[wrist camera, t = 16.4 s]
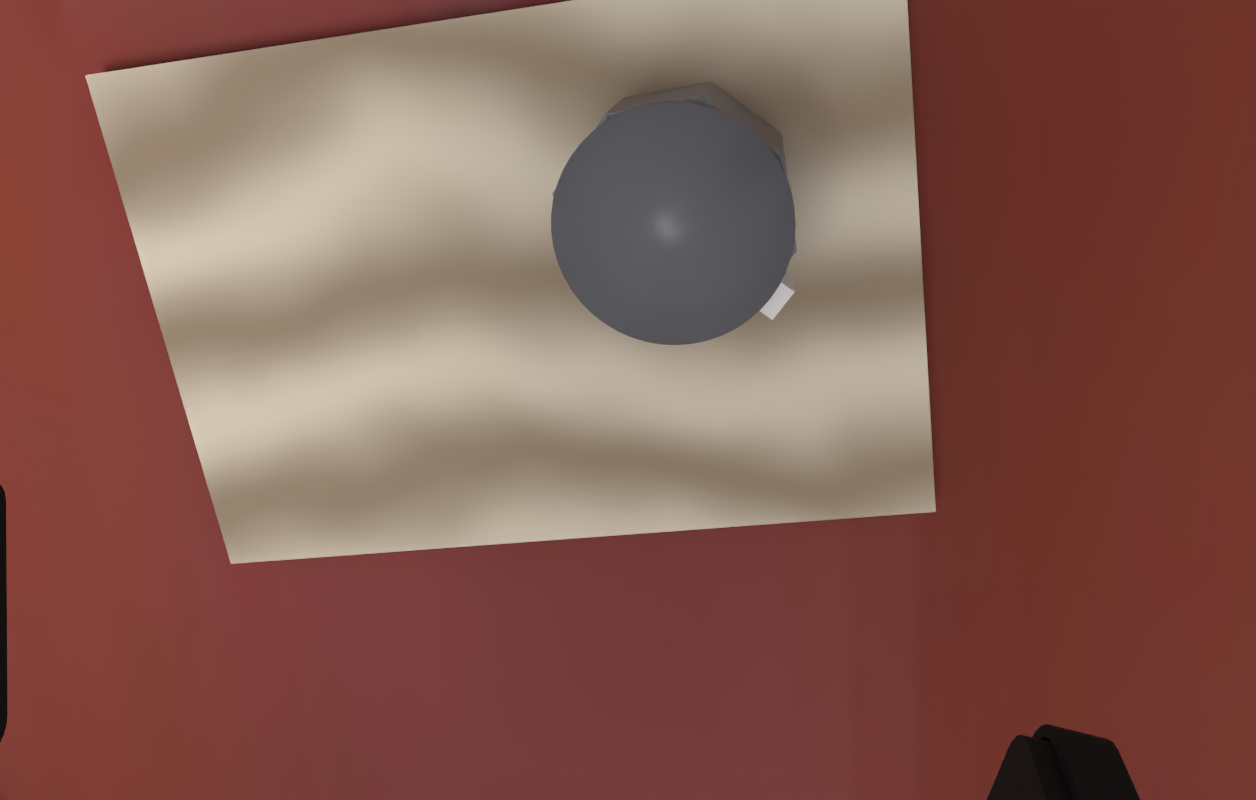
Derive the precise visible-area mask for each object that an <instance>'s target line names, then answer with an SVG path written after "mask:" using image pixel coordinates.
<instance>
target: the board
mask: <svg viewBox="0 0 1256 800" xmlns="http://www.w3.org/2000/svg"><path fill="white" fill-rule="evenodd" d="M85 77H86V80H87V83H88V87H89V90H90V93H91V97H92V100H93V103H94V107H95V110H96V113H97V117H98V120H99V123H100V127H101V130H102V134H103V137H104V140H105V144H106V147H107V150H108V154H109V157H110V160H111V164H112V167H113V170H114V174H115V177H116V180H117V184H118V187H119V190H120V194H121V197H122V200H123V204H124V207H125V211H126V214H127V217H128V221H129V224H130V227H131V231H132V234H133V237H134V241H135V244H136V247H137V251H138V254H139V257H140V261H141V264H142V267H143V271H144V274H145V278H146V281H147V284H148V288H149V291H150V294H151V298H152V301H153V304H154V308H155V311H156V314H157V318H158V321H159V324H160V328H161V331H162V334H163V338H164V341H165V345H166V348H167V351H168V355H169V358H170V361H171V365H172V368H173V371H174V375H175V378H176V381H177V385H178V388H179V391H180V395H181V398H182V401H183V405H184V408H185V412H186V415H187V418H188V422H189V425H190V428H191V432H192V435H193V438H194V442H195V445H196V448H197V452H198V455H199V458H200V462H201V465H202V468H203V472H204V475H205V478H206V482H207V485H208V489H209V492H210V495H211V499H212V502H213V505H214V509H215V512H216V515H217V519H218V522H219V525H220V529H221V532H222V535H223V539H224V542H225V545H226V549H227V552H228V556H229V559H230V562H231V564H235V563H249V562H262V561H276V560H289V559H303V558H317V557H330V556H344V555H357V554H371V553H384V552H398V551H411V550H425V549H439V548H452V547H466V546H479V545H493V544H506V543H520V542H534V541H547V540H561V539H574V538H588V537H601V536H615V535H628V534H642V533H656V532H669V531H683V530H696V529H710V528H723V527H737V526H750V525H764V524H778V523H791V522H805V521H818V520H832V519H845V518H859V517H872V516H886V515H900V514H913V513H927V512H936V507H935V489H934V471H933V453H932V435H931V417H930V399H929V381H928V363H927V345H926V327H925V309H924V291H923V273H922V255H921V237H920V219H919V201H918V183H917V165H916V147H915V129H914V112H913V94H912V76H911V58H910V40H909V22H908V4H907V0H572V1H565V2H559V3H552V4H546V5H539V6H533V7H526V8H520V9H513V10H507V11H500V12H494V13H487V14H481V15H474V16H468V17H461V18H455V19H448V20H442V21H435V22H429V23H422V24H416V25H409V26H403V27H396V28H390V29H383V30H377V31H370V32H364V33H357V34H351V35H344V36H338V37H331V38H325V39H318V40H311V41H305V42H298V43H292V44H285V45H279V46H272V47H266V48H259V49H253V50H246V51H240V52H233V53H227V54H220V55H214V56H207V57H201V58H194V59H188V60H181V61H175V62H168V63H162V64H155V65H149V66H142V67H136V68H129V69H123V70H116V71H110V72H103V73H97V74H90V75H85ZM708 82H711V83H712V84H714V85H715V86H717V87H718V88H719V89H721V90H722V91H723V92H725V93H726V94H727V95H729V96H730V97H732V98H733V99H734V100H736V101H737V102H738V103H740V104H741V105H742V106H744V107H745V108H747V109H748V110H749V111H751V112H752V113H753V114H755V115H756V116H757V117H759V118H760V119H762V120H763V121H764V122H766V123H767V124H768V125H770V126H771V127H772V128H774V129H775V130H777V131H778V132H779V133H781V134H782V137H783V144H784V152H785V159H786V167H787V174H788V181H789V184H790V187H791V191H792V196H793V201H794V209H795V223H796V227H795V237H796V248H797V251H796V253H795V254H794V255H793V257H792V258H791V259H790V262H789V265H788V268H787V271H786V272H787V273H788V274H790V275H791V276H793V277H794V289H795V292H794V294H793V295H792V296H791V297H790V299H789V300H788V301H787V302H786V304H785V305H784V306H783V307H782V309H781V310H780V311H779V313H778V314H777V315H776V316H775V318H774V319H773V320H771V319H770V318H769V317H767V316H766V315H764V314H763V313H761V312H760V311H759V312H758V313H756V314H755V315H754V316H753V317H752V318H751V319H749V320H748V321H747V322H745V323H744V324H742V325H741V326H739V327H738V328H736V329H735V330H732V331H730V332H728V333H726V334H724V335H722V336H720V337H717V338H714V339H711V340H708V341H704V342H699V343H694V344H686V345H662V344H655V343H650V342H645V341H641V340H638V339H635V338H632V337H629V336H627V335H625V334H622V333H620V332H618V331H616V330H614V329H613V328H611V327H609V326H608V325H606V324H605V323H603V322H602V321H601V320H599V319H598V318H597V317H596V316H594V315H593V314H592V313H591V312H590V311H589V310H588V309H587V308H586V307H585V306H584V305H583V304H582V303H581V302H580V301H579V299H578V298H577V297H576V295H575V294H574V293H573V292H572V290H571V289H570V287H569V285H568V283H567V282H566V280H565V278H564V276H563V274H562V272H561V269H560V267H559V265H558V262H557V259H556V255H555V251H554V248H553V241H552V234H551V211H552V203H553V195H552V193H553V192H554V190H555V189H556V186H557V183H558V181H559V178H560V176H561V173H562V171H563V169H564V167H565V165H566V164H567V162H568V160H569V158H570V157H571V155H572V154H573V153H574V151H575V150H576V149H577V147H578V146H579V145H580V143H581V142H582V141H583V140H584V139H585V138H586V137H587V136H588V135H589V134H590V133H591V132H593V131H594V130H595V128H596V127H597V125H598V124H599V122H600V121H601V119H602V118H603V116H604V115H605V113H606V112H607V111H609V110H610V109H611V108H612V107H613V106H614V105H616V104H617V103H618V102H619V101H620V100H621V99H623V98H625V97H630V96H636V95H642V94H647V93H653V92H658V91H664V90H669V89H675V88H680V87H686V86H691V85H697V84H702V83H708Z"/></svg>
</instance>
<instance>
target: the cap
mask: <svg viewBox="0 0 1256 800" xmlns="http://www.w3.org/2000/svg"><path fill="white" fill-rule="evenodd" d="M552 195H553V203H552V211H551V234H552V241H553V248H554V251H555V255H556V259H557V262H558V265H559V267H560V269H561V272H562V274H563V276H564V278H565V280H566V282H567V283H568V285H569V287H570V289H571V290H572V292H573V293H574V294H575V295H576V297H577V298H578V299H579V301H580V302H581V303H582V304H583V305H584V306H585V307H586V308H587V309H588V310H589V311H590V312H591V313H592V314H593V315H594V316H596V317H597V318H598V319H599V320H601V321H602V322H603V323H605V324H606V325H608V326H609V327H611V328H613V329H614V330H616V331H618V332H620V333H622V334H625V335H627V336H629V337H632V338H635V339H638V340H641V341H645V342H650V343H655V344H662V345H686V344H694V343H699V342H704V341H708V340H711V339H714V338H717V337H720V336H722V335H724V334H726V333H728V332H730V331H732V330H735V329H736V328H738V327H739V326H741V325H742V324H744V323H745V322H747V321H748V320H749V319H751V318H752V317H753V316H754V315H755V314H756V313H758V312H759V311H760V312H761V313H763V314H764V315H766V316H767V317H769V318H770V319H771V320H773V319H774V318H775V316H776V315H777V314H778V313H779V311H780V310H781V309H782V307H783V306H784V305H785V304H786V302H787V301H788V300H789V299H790V297H791V296H792V295H793V294H794V292H795V289H794V277H793V276H791V275H790V274H788V273H787V272H786V271H787V268H788V265H789V262H790V259H791V258H792V257H793V255H794V254H795V253H796V251H797V248H796V237H795V227H796V223H795V209H794V201H793V196H792V191H791V187H790V184H789V181H788V174H787V167H786V159H785V152H784V144H783V137H782V134H781V133H779V132H778V131H777V130H775V129H774V128H772V127H771V126H770V125H768V124H767V123H766V122H764V121H763V120H762V119H760V118H759V117H757V116H756V115H755V114H753V113H752V112H751V111H749V110H748V109H747V108H745V107H744V106H742V105H741V104H740V103H738V102H737V101H736V100H734V99H733V98H732V97H730V96H729V95H727V94H726V93H725V92H723V91H722V90H721V89H719V88H718V87H717V86H715V85H714V84H712V83H711V82H708V83H702V84H697V85H691V86H686V87H680V88H675V89H669V90H664V91H658V92H653V93H647V94H642V95H636V96H630V97H625V98H623V99H621V100H620V101H619V102H618V103H617V104H616V105H614V106H613V107H612V108H611V109H610V110H609V111H607V112H606V113H605V115H604V116H603V118H602V119H601V121H600V122H599V124H598V125H597V127H596V128H595V130H594V131H593V132H591V133H590V134H589V135H588V136H587V137H586V138H585V139H584V140H583V141H582V142H581V143H580V145H579V146H578V147H577V149H576V150H575V151H574V153H573V154H572V155H571V157H570V158H569V160H568V162H567V164H566V165H565V167H564V169H563V171H562V173H561V176H560V178H559V181H558V183H557V186H556V189H555V190H554V192H553V193H552Z"/></svg>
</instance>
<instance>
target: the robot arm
mask: <svg viewBox="0 0 1256 800" xmlns="http://www.w3.org/2000/svg"><path fill="white" fill-rule="evenodd" d="M6 724H7V597H6V498H5V492H4V490H3V488H2V486H1V485H0V742H1V739H2V737H3V735H4V731H5V728H6ZM987 800H1140V798H1139V796H1138V794H1137V792H1136V789H1135V787H1134V785H1133V783H1132V780H1131V778H1130V776H1129V774H1128V771H1127V769H1126V767H1125V765H1124V762H1123V760H1122V758H1121V756H1120V753H1119V751H1118V749H1117V748H1116V746H1115V745H1114V743H1113V742H1112V741H1110V740H1108V739H1105V738H1101V737H1097V736H1093V735H1089V734H1085V733H1081V732H1077V731H1073V730H1068V729H1064V728H1060V727H1056V726H1052V725H1048V724H1046V725H1043V726H1040V727H1039V729H1038V730H1037V731H1036V732H1035V733H1034V735H1033V737H1028V736H1023V735H1019V736H1016V737H1015V738H1014V740H1013V741H1012V742H1011V744H1010V746H1009V748H1008V750H1007V753H1006V755H1005V758H1004V760H1003V762H1002V765H1001V767H1000V770H999V772H998V774H997V777H996V779H995V782H994V784H993V786H992V789H991V791H990V794H989V796H988V798H987Z"/></svg>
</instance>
